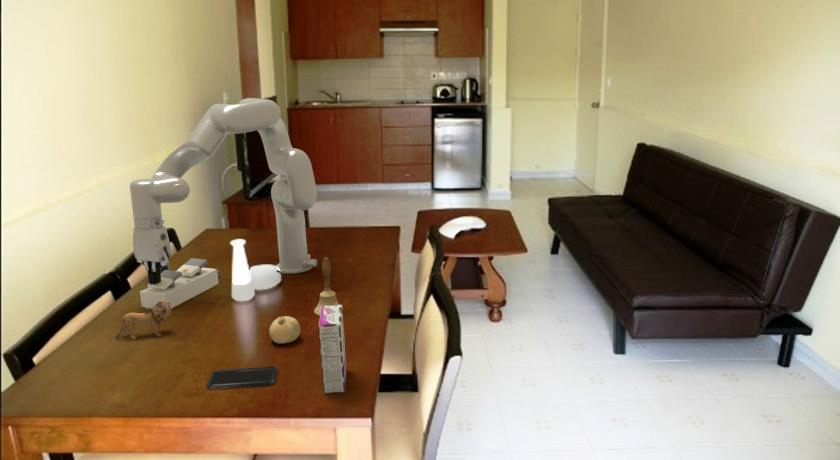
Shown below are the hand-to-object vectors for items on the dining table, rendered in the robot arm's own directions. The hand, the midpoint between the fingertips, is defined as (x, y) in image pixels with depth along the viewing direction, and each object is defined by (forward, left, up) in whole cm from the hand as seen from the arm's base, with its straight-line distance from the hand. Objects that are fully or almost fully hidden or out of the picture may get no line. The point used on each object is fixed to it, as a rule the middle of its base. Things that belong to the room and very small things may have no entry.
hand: (155, 282), depth 192 cm
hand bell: (-50, -13, -8) cm, 52 cm away
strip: (0, -13, -8) cm, 15 cm away
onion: (-49, +8, -8) cm, 50 cm away
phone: (-51, +29, -8) cm, 59 cm away
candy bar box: (-72, +23, -8) cm, 76 cm away
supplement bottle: (+16, -18, -8) cm, 25 cm away
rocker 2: (0, -16, -1) cm, 16 cm away
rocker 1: (0, -4, -1) cm, 4 cm away
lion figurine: (-11, +17, -8) cm, 22 cm away
